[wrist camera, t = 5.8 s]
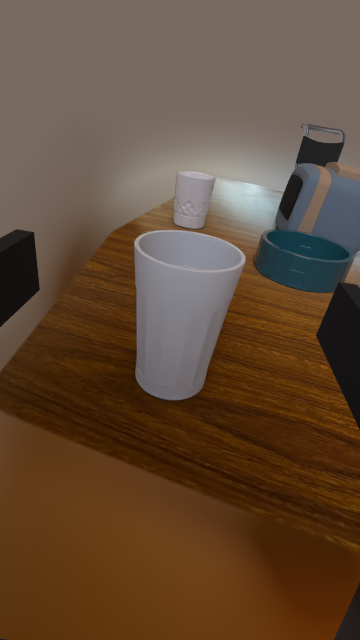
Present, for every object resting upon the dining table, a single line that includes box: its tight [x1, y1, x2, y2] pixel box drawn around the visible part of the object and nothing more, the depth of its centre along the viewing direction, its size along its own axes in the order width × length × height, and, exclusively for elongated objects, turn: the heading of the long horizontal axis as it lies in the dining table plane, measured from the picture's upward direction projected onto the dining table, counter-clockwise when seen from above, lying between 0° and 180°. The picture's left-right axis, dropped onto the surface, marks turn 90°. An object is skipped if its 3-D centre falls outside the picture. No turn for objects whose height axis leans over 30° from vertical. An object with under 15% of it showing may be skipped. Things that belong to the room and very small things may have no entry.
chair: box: [295, 124, 345, 168], centre depth 88 cm, size 13×17×22 cm
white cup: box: [174, 171, 216, 229], centre depth 69 cm, size 8×8×10 cm
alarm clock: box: [275, 162, 360, 254], centre depth 71 cm, size 16×16×16 cm
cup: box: [134, 230, 246, 400], centre depth 27 cm, size 8×8×12 cm
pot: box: [254, 229, 354, 293], centre depth 55 cm, size 15×15×5 cm
